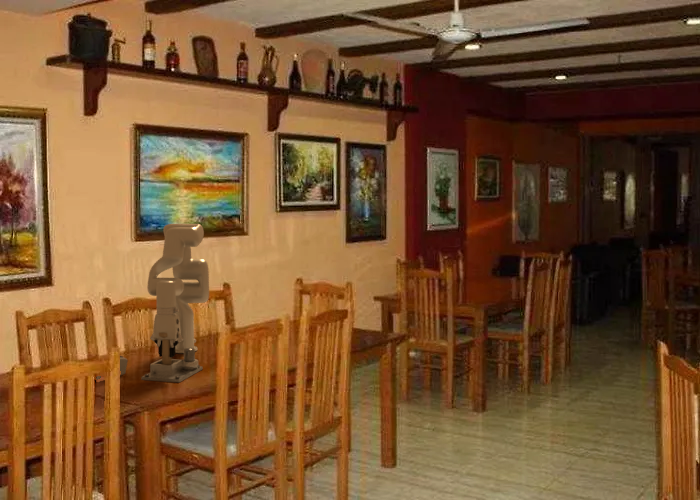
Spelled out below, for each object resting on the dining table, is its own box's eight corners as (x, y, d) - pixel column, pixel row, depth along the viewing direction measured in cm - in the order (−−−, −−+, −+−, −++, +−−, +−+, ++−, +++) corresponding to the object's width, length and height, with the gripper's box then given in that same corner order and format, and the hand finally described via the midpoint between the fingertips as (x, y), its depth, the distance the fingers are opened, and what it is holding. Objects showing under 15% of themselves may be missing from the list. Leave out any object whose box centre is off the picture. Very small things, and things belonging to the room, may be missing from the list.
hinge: (115, 372, 321) (121, 350, 319) (124, 377, 319) (130, 355, 317) (86, 381, 306) (93, 358, 303) (96, 387, 304) (102, 363, 302)
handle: (156, 369, 316) (156, 332, 314) (168, 366, 321) (168, 330, 320) (165, 371, 313) (164, 334, 312) (177, 368, 318) (176, 331, 317)
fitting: (167, 367, 330) (166, 345, 329) (202, 369, 326) (202, 347, 326) (141, 379, 309) (141, 356, 308) (179, 382, 305) (179, 359, 304)
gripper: (189, 310, 317) (190, 355, 318) (151, 308, 320) (152, 353, 322) (181, 313, 309) (182, 359, 311) (142, 311, 313) (143, 357, 315)
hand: (166, 355), depth 317 cm, fingers closed on handle, 3 cm apart
